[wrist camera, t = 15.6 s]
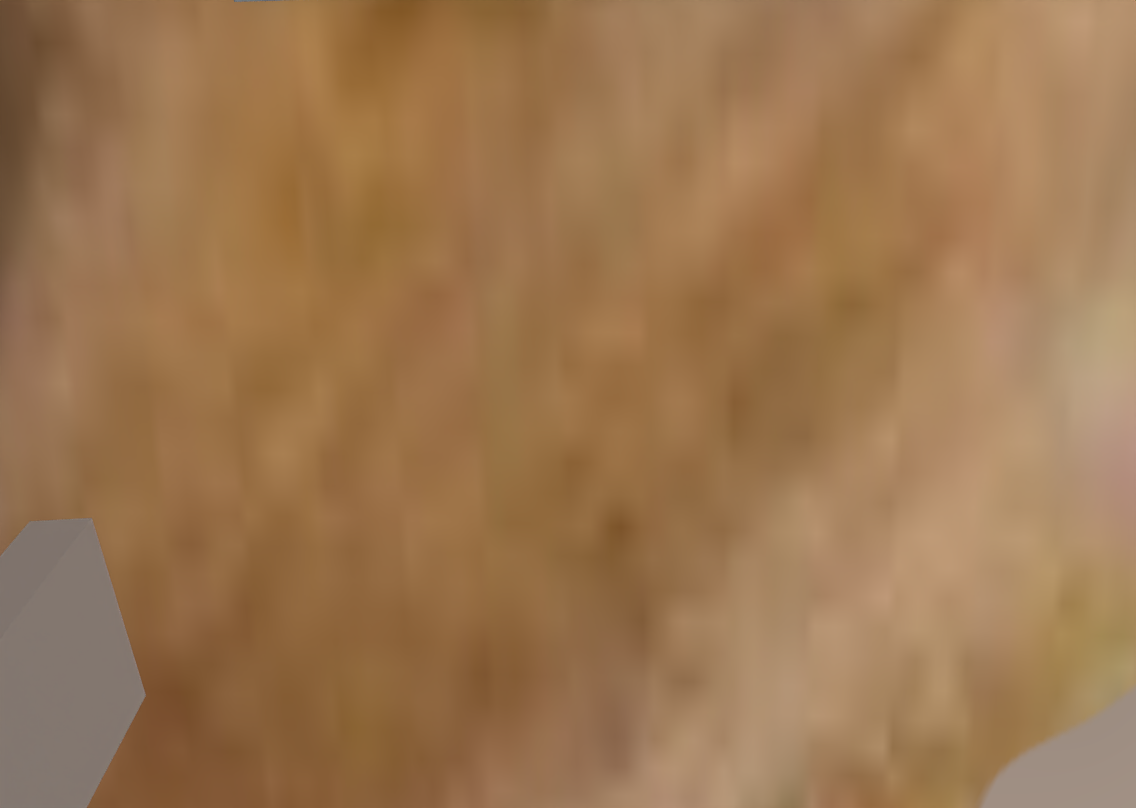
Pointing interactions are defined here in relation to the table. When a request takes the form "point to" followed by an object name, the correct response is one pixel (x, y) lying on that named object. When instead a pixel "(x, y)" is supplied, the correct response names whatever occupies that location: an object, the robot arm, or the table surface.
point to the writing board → (253, 0)
